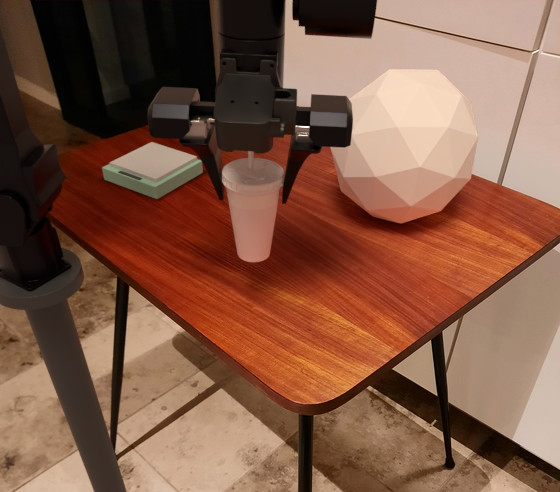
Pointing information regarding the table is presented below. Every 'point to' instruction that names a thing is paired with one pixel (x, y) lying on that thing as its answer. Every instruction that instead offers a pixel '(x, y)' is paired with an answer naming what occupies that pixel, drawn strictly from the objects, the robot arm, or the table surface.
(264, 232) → the smoothie
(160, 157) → the scale
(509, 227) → the table surface
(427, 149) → the ball
